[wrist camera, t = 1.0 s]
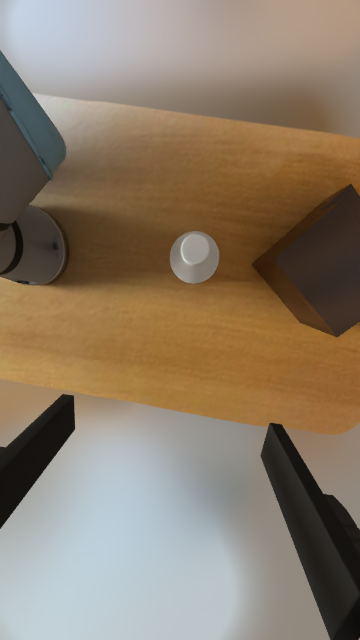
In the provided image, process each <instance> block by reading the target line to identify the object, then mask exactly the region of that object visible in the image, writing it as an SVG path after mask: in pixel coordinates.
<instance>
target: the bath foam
mask: <svg viewBox="0 0 360 640" xmlns="http://www.w3.org/2000/svg"><path fill="white" fill-rule="evenodd" d="M218 263H219V250H218V247H217V245H216V243H215V241H214V240H213V239H212V238H211V237H210V236H209V235H207V234H206V233H203V232H200V231H191V232H187V233H185V234H183V235H181V236H180V237H179V238H178V239H177V240H176V241H175V242H174V244H173V246H172V248H171V251H170V265H171V268H172V271H173V272H174V274H175V275H176V276H177V277H178V278H179V279H181V280H182V281H184V282H187V283H190V284H198V283H202V282H204V281H206V280H208V279H209V278H210V277H211V276H212V275H213V274H214V273H215V271H216V269H217V267H218Z"/></svg>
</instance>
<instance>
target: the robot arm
mask: <svg viewBox="0 0 360 640" xmlns="http://www.w3.org/2000/svg"><path fill="white" fill-rule="evenodd" d="M65 157H66V146H65V142H64V140H63V138H62V136H61V134H60V133H59V131H58V130H57V128H56V127H55V126H54V124H53V123H52V121H51V120H50V118H49V117H48V116H47V114H46V113H45V111H44V110H43V109H42V107H41V106H40V104H39V103H38V102H37V100H36V99H35V97H34V96H33V95H32V93H31V92H30V90H29V89H28V88H27V86H26V85H25V84H24V82H23V81H22V79H21V78H20V77H19V75H18V74H17V73H16V71H15V70H14V68H13V67H12V66H11V64H10V63H9V62H8V60H7V59H6V58H5V56H4V55H3V53H2V52H1V51H0V277H3V278H6V279H9V280H12V281H15V282H18V283H19V284H20V283H22V284H27V285H44V284H48V283H51V282H53V281H54V280H56V279H57V278H58V277H59V276H60V275H61V274H62V273H63V271H64V269H65V267H66V265H67V261H68V244H67V240H66V237H65V234H64V232H63V230H62V228H61V227H60V225H59V224H58V223H57V222H56V220H55V219H54V218H53V217H51V216H50V215H49V214H47V213H46V212H44V211H42V210H40V209H38V208H36V207H34V206H31V205H29V203H30V202H31V201H32V200H33V199H34V198H35V196H36V195H37V194H38V193H39V192H40V191H41V189H42V188H43V187H44V186H45V185H46V183H47V182H48V181H49V180H50V181H51V180H52V179H53V174H54V173H55V172H56V170H57V169H58V167H59V166H60V165H61V163H62V162H63V161H64V159H65ZM74 416H75V414H74V396H72V395H65V394H62V395H61V396H60V397H59V398H58V399H57V400H56V401H55V402H54V403H53V404H52V405H51V406H50V407H49V408H47V409H46V410H45V411H44V412H43V413H42V414H41V415H40V416H39V417H38V418H37V419H36V420H35V421H34V422H33V423H31V424H30V425H29V426H28V427H27V428H26V429H25V430H24V431H23V432H22V433H21V434H20V435H19V436H18V437H17V438H16V439H14V440H13V441H12V442H11V443H10V444H9V445H8V446H7V447H0V529H1V527H2V526H3V524H4V523H5V522H6V521H7V519H8V518H9V517H10V515H11V514H12V513H13V511H14V510H15V509H16V507H17V506H18V505H19V503H20V502H21V501H22V499H23V498H24V497H25V495H26V494H27V493H28V491H29V490H30V489H31V487H32V486H33V484H34V483H35V482H36V481H37V479H38V478H39V476H40V475H41V474H42V473H43V471H44V470H45V469H46V467H47V465H48V464H49V463H50V462H51V461H52V459H53V458H54V456H55V455H56V454H57V452H58V451H59V450H60V448H61V447H62V446H63V444H64V443H65V442H66V440H67V439H68V438H69V436H70V435H71V434H72V432H73V431H74V430H75V417H74ZM261 458H262V461H263V464H264V466H265V469H266V471H267V474H268V477H269V479H270V482H271V484H272V487H273V490H274V492H275V495H276V498H277V500H278V503H279V505H280V508H281V511H282V514H283V516H284V519H285V521H286V524H287V527H288V529H289V532H290V534H291V537H292V540H293V542H294V545H295V548H296V550H297V553H298V556H299V558H300V561H301V564H302V566H303V569H304V571H305V574H306V577H307V579H308V582H309V585H310V587H311V590H312V592H313V595H314V598H315V600H316V603H317V605H318V608H319V611H320V613H321V616H322V619H323V621H324V624H325V627H326V629H327V632H328V634H329V637H330V640H358V639H359V638H360V530H359V528H357V525H356V524H355V522H354V520H353V519H352V518H351V516H350V515H349V513H348V512H347V510H346V509H345V508H344V507H343V505H342V504H341V503H340V502H339V501H338V500H337V499H336V498H335V497H334V496H333V495H327V494H323V493H322V491H321V489H320V488H319V486H318V485H317V483H316V481H315V479H314V478H313V476H312V474H311V473H310V471H309V469H308V468H307V466H306V464H305V463H304V461H303V459H302V458H301V456H300V455H299V453H298V451H297V449H296V448H295V446H294V444H293V443H292V441H291V439H290V438H289V436H288V434H287V433H286V431H285V429H284V428H283V426H282V424H275V423H270V424H269V427H268V431H267V434H266V438H265V441H264V445H263V449H262V452H261Z"/></svg>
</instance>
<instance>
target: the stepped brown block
mask: <svg viewBox="0 0 360 640" xmlns="http://www.w3.org/2000/svg"><path fill="white" fill-rule="evenodd" d="M252 265H253V266H254V267H255V269H256V270H257V271H258V272H259V273H260V275H261V276H262V277H263V278H264V280H265V281H266V282H267V283H268V284H269V286H270V287H271V288H272V289H273V290H274V292H275V293H276V294H277V295H278V296H279V298H280V299H281V300H282V301H283V302H284V304H285V305H286V306H287V307H288V309H289V310H290V311H291V312H292V313H293V315H294V316H295V317H296V318H297V319H298V321H299V322H300V323H302V324H305V325H307V326H310V327H312V328H315V329H317V330H320V331H322V332H325V333H327V334H330V335H332V336H335V337H338V336H340V335H341V334H343V333H344V332H345V331H347V330H348V329H350V328H351V327H352V326H354V325H355V324H357V323H358V322H360V196H359V195H358V193H357V192H356V190H355V189H354V187H353V186H352V185H351V184H350V185H348V186H346V187H345V188H343V189H341V190H340V191H338V192H336V193H335V194H333V195H331V196H330V197H328V198H327V199H326V200H324V201H323V202H322V203H321V204H320V205H319V206H318V207H316V208H315V209H314V210H313V211H312V212H311V213H310V214H309V215H307V216H306V217H305V218H304V219H303V220H302V221H301V222H300V223H298V224H297V225H296V226H295V227H294V228H293V229H292V230H290V231H289V232H288V233H287V234H286V235H285V236H284V237H282V238H281V239H280V240H279V241H278V242H277V243H276V244H274V245H273V246H272V247H271V248H270V249H269V250H268V251H267V252H265V253H264V254H263V255H262V256H261V257H260V258H259V259H257V260H256V261H255V262H254V263H253V264H252Z"/></svg>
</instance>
